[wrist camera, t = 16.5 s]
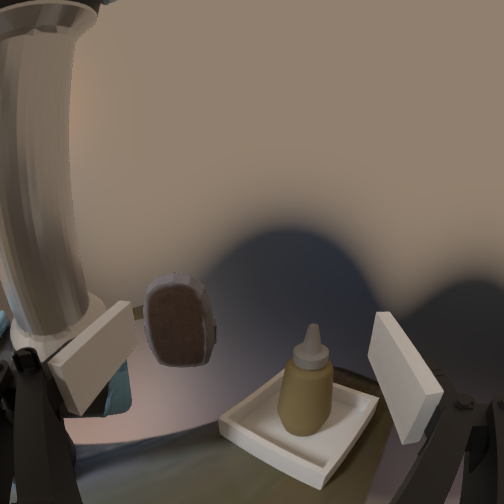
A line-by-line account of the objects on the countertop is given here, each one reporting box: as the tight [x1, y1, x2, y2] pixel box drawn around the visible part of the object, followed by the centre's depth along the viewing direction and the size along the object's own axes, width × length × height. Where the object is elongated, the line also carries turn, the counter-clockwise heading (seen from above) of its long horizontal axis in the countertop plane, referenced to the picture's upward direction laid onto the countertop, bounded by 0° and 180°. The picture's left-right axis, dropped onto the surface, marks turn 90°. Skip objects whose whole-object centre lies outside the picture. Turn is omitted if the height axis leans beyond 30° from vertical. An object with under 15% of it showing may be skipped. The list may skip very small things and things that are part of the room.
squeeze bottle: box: [277, 324, 334, 437], centre depth 37 cm, size 8×8×18 cm
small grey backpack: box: [143, 272, 217, 367], centre depth 57 cm, size 15×8×20 cm, turn 95°
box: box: [218, 369, 379, 490], centre depth 39 cm, size 18×18×4 cm
